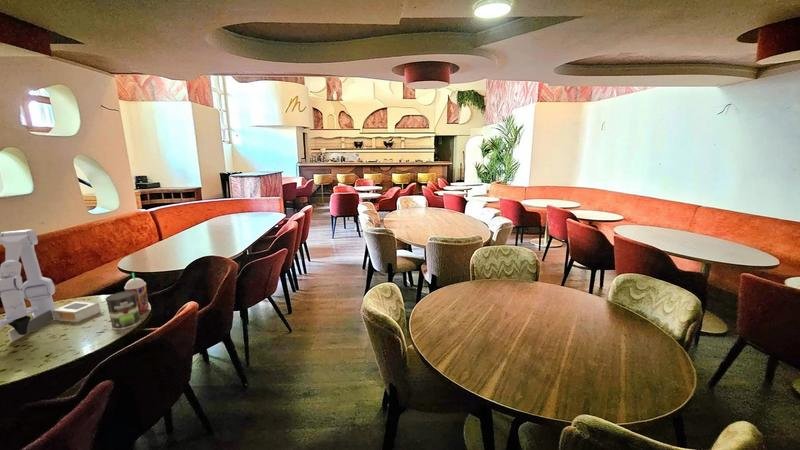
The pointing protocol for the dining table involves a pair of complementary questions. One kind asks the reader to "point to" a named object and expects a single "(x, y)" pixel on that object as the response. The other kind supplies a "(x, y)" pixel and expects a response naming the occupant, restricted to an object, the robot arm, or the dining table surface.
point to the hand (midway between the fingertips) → (23, 334)
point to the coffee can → (123, 310)
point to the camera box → (76, 311)
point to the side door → (32, 325)
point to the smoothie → (138, 292)
